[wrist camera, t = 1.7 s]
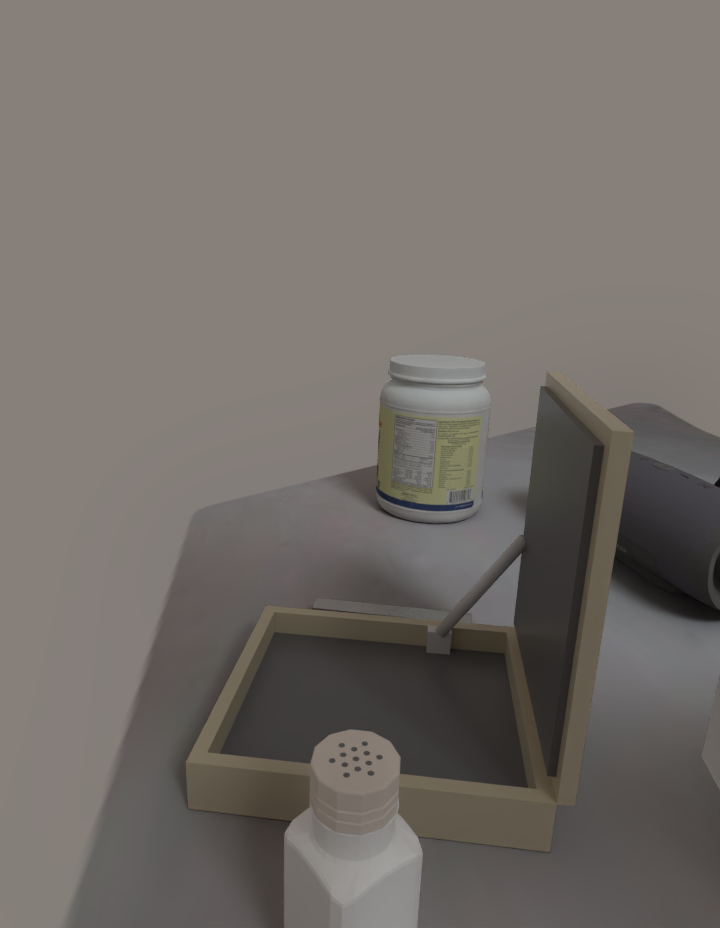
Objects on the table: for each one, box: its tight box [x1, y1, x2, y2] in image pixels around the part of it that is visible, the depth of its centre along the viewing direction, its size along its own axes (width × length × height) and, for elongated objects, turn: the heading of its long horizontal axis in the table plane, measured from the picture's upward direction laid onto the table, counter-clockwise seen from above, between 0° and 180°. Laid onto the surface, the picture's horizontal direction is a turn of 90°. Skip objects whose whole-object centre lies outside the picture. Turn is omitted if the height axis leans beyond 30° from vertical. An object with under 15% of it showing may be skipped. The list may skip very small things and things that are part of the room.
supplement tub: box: [376, 355, 491, 523], centre depth 73 cm, size 12×12×17 cm
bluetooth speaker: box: [615, 451, 720, 611], centre depth 60 cm, size 23×9×10 cm, turn 14°
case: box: [186, 372, 634, 852], centre depth 36 cm, size 16×18×20 cm
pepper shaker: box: [284, 729, 423, 928], centre depth 24 cm, size 4×4×10 cm
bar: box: [312, 598, 472, 623], centre depth 50 cm, size 12×2×2 cm, turn 82°
